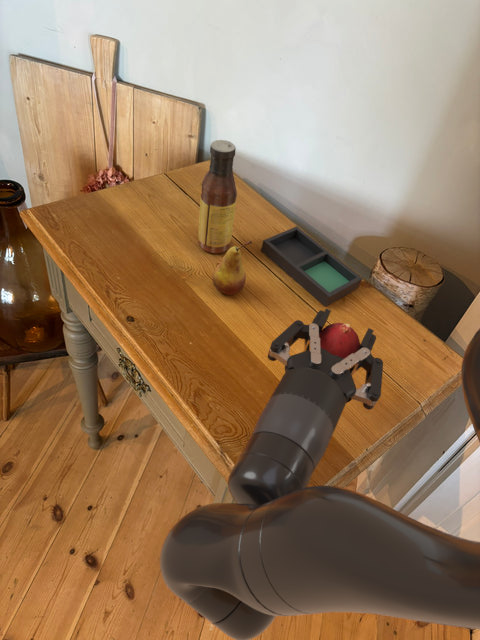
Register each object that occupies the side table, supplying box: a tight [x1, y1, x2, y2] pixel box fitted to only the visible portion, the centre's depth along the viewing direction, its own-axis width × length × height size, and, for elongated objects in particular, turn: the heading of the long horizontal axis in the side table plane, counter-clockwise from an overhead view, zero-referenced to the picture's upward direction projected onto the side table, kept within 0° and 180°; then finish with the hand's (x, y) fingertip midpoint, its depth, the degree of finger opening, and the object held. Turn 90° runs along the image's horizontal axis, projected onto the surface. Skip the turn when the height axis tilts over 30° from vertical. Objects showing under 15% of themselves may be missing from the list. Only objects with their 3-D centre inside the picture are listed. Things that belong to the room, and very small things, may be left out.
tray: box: [260, 226, 364, 308], centre depth 86 cm, size 9×17×3 cm, turn 40°
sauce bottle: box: [197, 139, 238, 255], centre depth 80 cm, size 6×6×20 cm
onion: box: [319, 322, 361, 359], centre depth 60 cm, size 6×6×8 cm
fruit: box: [212, 240, 253, 296], centre depth 76 cm, size 6×6×12 cm
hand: (347, 323), depth 60 cm, fingers closed on onion, 5 cm apart
